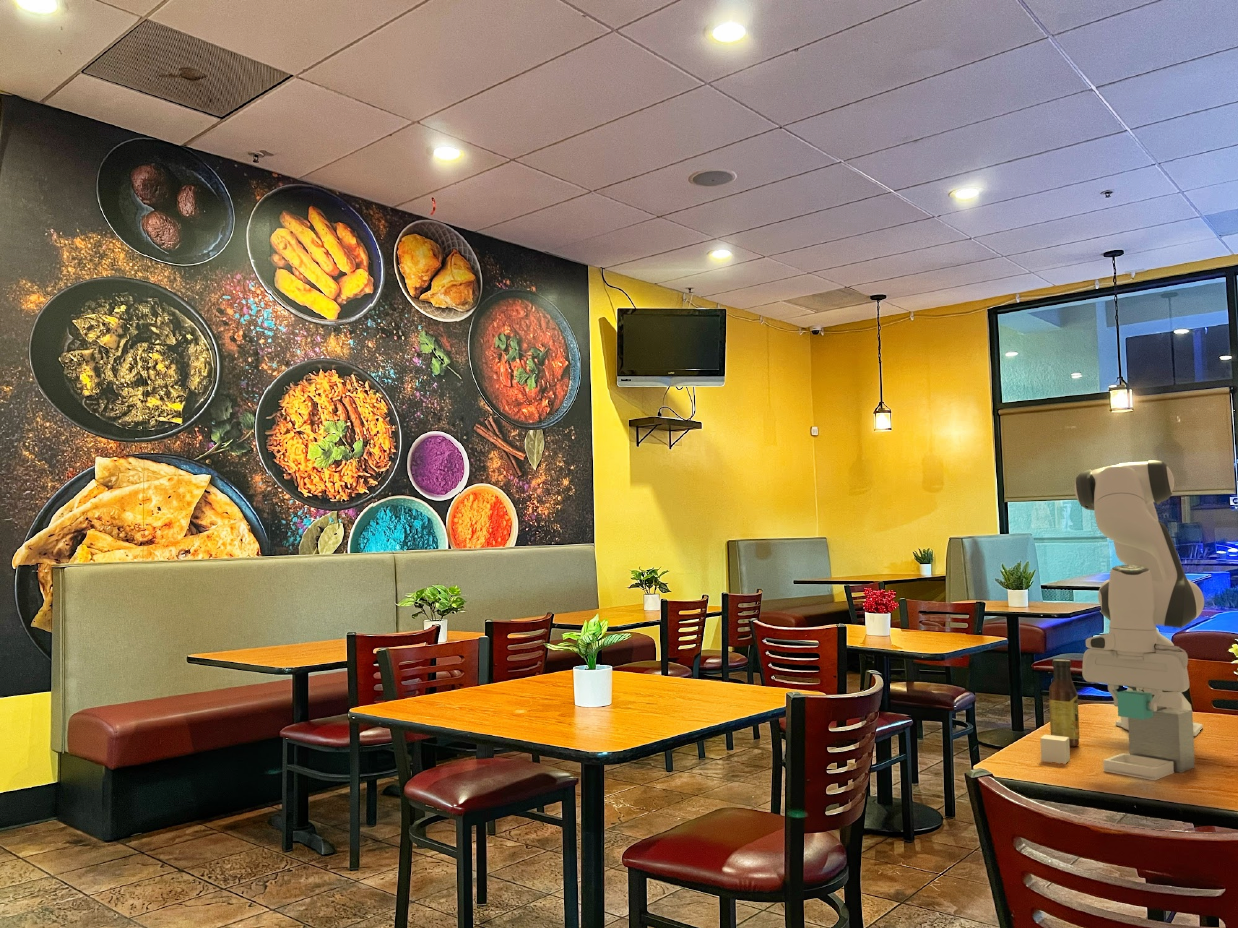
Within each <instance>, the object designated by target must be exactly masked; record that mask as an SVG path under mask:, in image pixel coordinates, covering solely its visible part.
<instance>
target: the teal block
mask: <svg viewBox="0 0 1238 928" xmlns="http://www.w3.org/2000/svg"><path fill="white" fill-rule="evenodd" d="M1117 697H1118V707H1117V716H1118V717H1120V718H1121V717H1128V718H1135V719H1142V720H1144V719H1148V718H1151V717H1153V711H1147V709H1146V707H1147V706H1146V702H1149V701H1151V700H1152V694H1151V693H1149V692H1141V691H1132V690H1127V689H1125V690H1121V691H1117Z"/></svg>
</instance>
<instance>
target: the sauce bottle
mask: <svg viewBox="0 0 1238 928" xmlns="http://www.w3.org/2000/svg"><path fill="white" fill-rule="evenodd" d="M1052 667H1053V680H1052V682H1051V684H1050V685H1049V689H1048V692H1049V694H1048V695H1049V699H1048V704H1049V705H1048V707H1049V724H1050V725H1049V726H1050V728H1049V729H1050V735H1054V736H1063V737H1069V747H1073V748H1074V747H1078V746H1079V745H1080V736H1081V735H1080V720H1079V719H1080V717H1079V716H1080V715H1079V697H1078V695H1079V694H1078V692H1077V689H1076V687H1075V685H1074V682H1073V679H1072V675H1071V674H1072V673H1071V668H1072V661H1071V660H1070V659H1061V658H1060V659H1057V658H1056V659H1052Z"/></svg>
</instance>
